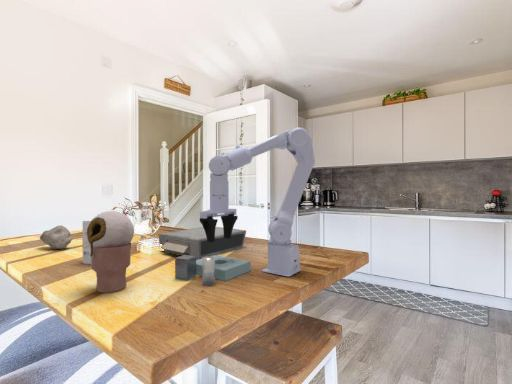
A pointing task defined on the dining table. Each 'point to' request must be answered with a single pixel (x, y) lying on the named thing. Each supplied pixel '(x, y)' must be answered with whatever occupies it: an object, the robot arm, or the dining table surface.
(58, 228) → the stone
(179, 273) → the square bar
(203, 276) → the round bit
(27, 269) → the dining table surface
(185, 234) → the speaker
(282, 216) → the robot arm
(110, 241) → the ice cream cone
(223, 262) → the socket block
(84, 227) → the ink box
